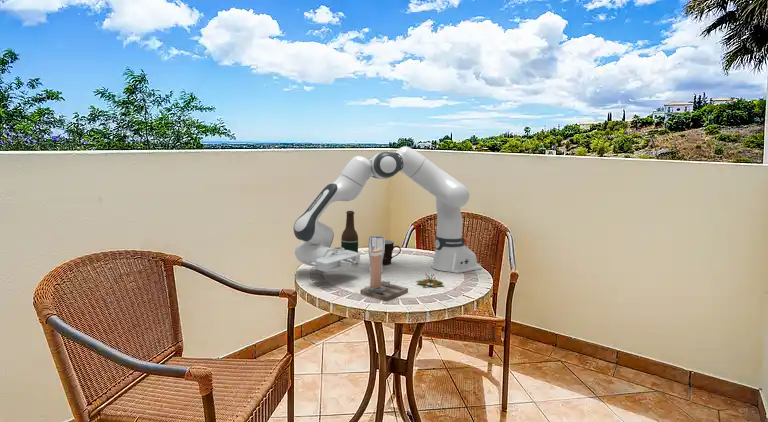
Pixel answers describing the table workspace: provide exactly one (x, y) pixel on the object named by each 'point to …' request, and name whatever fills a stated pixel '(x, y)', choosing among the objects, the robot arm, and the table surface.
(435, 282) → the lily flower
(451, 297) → the table surface
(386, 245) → the coffee mug
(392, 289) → the walnut control box
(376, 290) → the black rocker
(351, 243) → the beer bottle
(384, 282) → the grey fader knob
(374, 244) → the beer glass
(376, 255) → the terracotta paddle
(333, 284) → the table surface
